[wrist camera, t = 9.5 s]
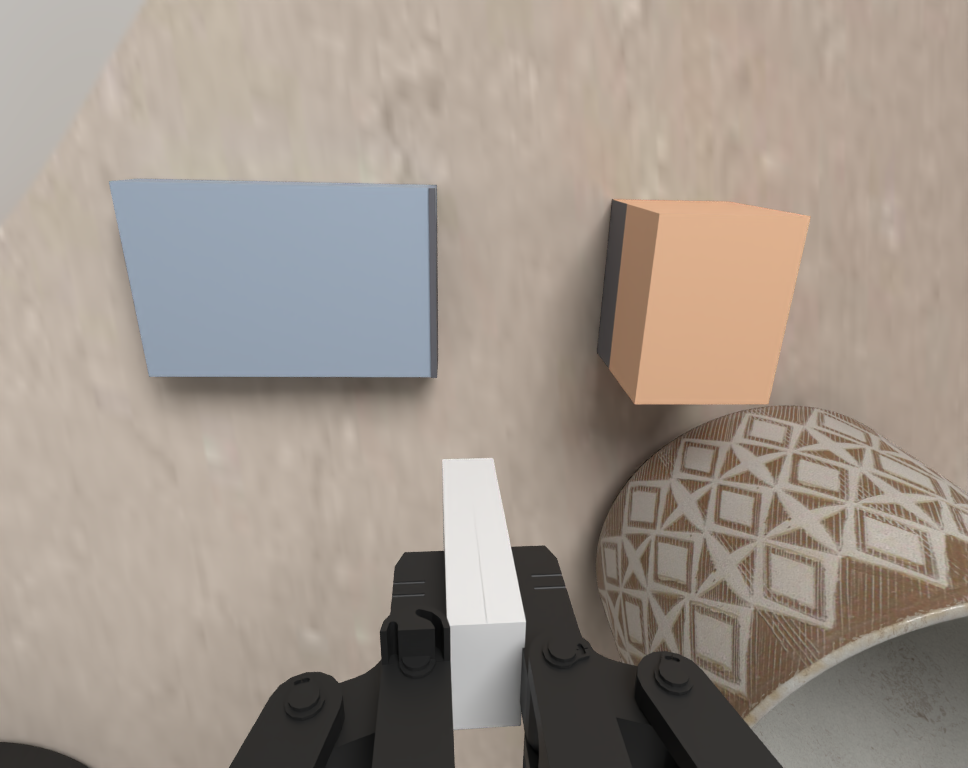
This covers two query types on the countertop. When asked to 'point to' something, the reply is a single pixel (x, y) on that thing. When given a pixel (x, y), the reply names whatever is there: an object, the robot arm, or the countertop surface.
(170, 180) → the blue-grey slab
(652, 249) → the block
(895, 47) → the countertop surface
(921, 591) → the planter
